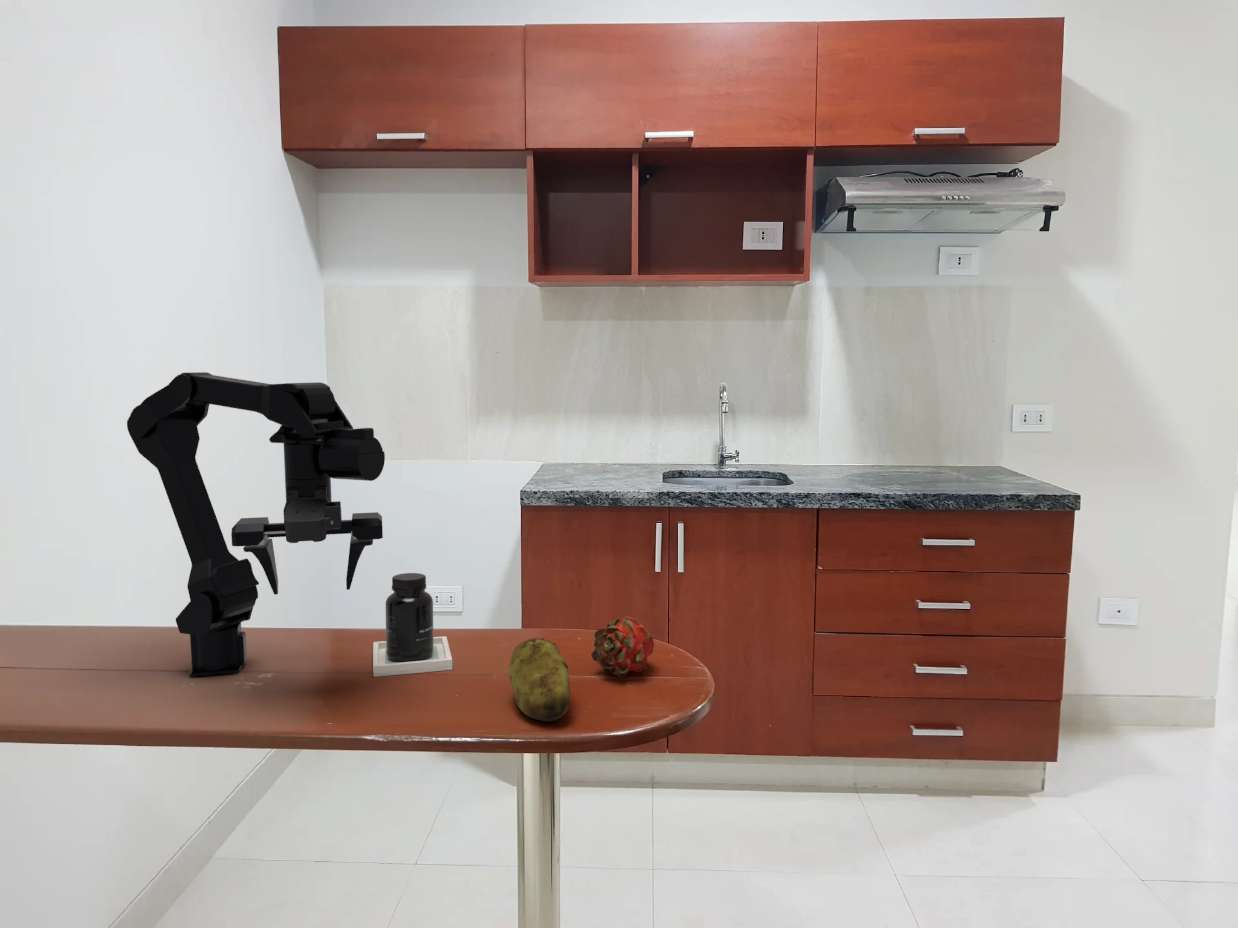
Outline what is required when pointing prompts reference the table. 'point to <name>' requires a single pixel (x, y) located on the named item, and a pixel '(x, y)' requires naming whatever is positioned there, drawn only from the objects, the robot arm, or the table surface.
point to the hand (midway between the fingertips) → (312, 591)
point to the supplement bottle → (409, 619)
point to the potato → (540, 679)
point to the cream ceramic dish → (435, 662)
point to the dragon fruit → (623, 646)
